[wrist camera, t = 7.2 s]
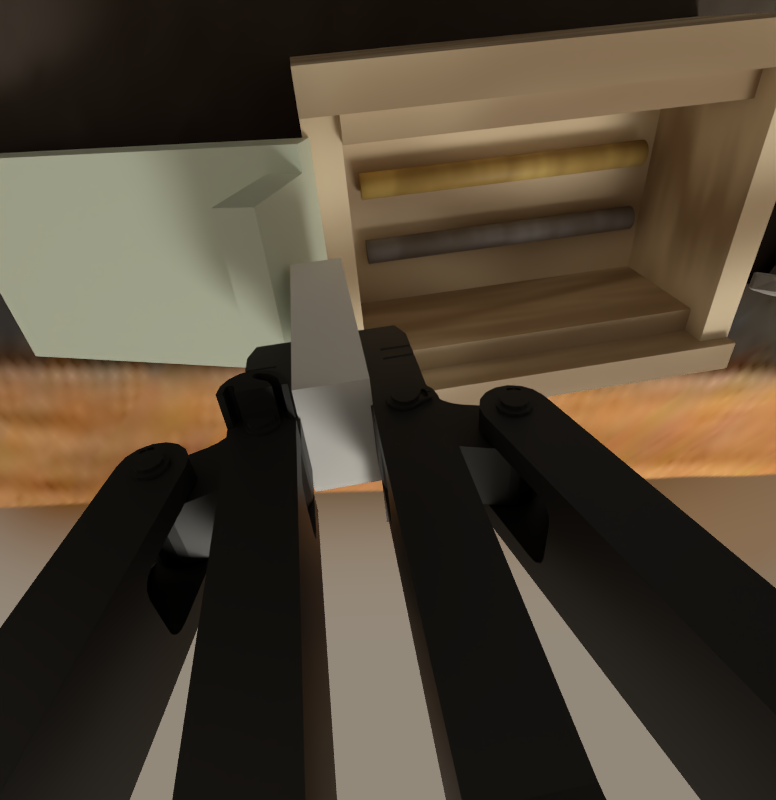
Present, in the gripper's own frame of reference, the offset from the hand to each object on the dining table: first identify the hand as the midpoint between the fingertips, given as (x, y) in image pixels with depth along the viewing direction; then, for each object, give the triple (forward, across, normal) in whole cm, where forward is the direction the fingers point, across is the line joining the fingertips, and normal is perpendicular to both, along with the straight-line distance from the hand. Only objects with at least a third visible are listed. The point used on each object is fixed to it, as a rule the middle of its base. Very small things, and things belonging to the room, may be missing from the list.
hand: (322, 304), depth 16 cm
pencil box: (+8, +8, 0) cm, 12 cm away
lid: (+6, -6, 0) cm, 8 cm away
